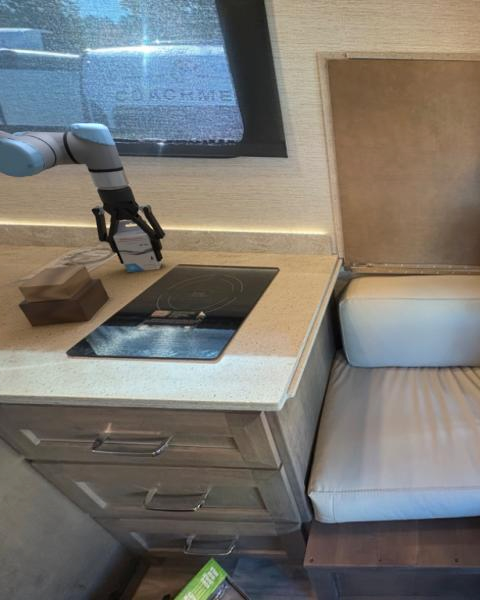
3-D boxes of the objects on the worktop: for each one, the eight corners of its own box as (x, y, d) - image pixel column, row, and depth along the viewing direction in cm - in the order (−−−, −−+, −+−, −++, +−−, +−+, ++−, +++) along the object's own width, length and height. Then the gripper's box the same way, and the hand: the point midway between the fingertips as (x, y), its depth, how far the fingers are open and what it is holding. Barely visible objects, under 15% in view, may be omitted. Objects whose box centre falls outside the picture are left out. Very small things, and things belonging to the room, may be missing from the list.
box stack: (32, 326, 77) (7, 289, 72) (59, 302, 86) (39, 267, 81) (88, 320, 80) (68, 284, 74) (109, 298, 89) (93, 264, 83)
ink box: (127, 273, 101) (107, 226, 93) (130, 266, 105) (111, 221, 97) (160, 269, 104) (143, 223, 96) (162, 262, 108) (146, 218, 100)
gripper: (162, 183, 97) (184, 253, 109) (73, 184, 92) (107, 258, 104) (153, 189, 91) (178, 263, 103) (57, 190, 86) (95, 268, 97)
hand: (142, 260), depth 103 cm, fingers closed on ink box, 9 cm apart
